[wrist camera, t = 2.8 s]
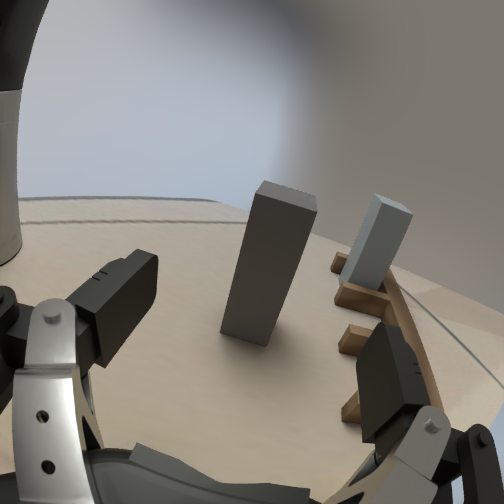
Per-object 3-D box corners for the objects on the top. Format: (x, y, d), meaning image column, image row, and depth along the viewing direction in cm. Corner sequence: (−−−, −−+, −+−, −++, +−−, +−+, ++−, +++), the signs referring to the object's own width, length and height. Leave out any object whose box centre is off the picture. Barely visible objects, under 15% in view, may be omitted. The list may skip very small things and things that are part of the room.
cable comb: (341, 421, 17) (358, 403, 16) (330, 267, 38) (337, 251, 37) (425, 427, 17) (444, 411, 16) (383, 283, 38) (390, 269, 37)
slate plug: (341, 295, 33) (382, 202, 27) (338, 278, 36) (373, 192, 31) (370, 303, 32) (413, 215, 27) (365, 286, 36) (402, 204, 30)
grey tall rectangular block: (219, 332, 23) (255, 193, 17) (231, 304, 27) (264, 180, 21) (266, 346, 23) (317, 212, 17) (272, 317, 26) (315, 195, 21)
